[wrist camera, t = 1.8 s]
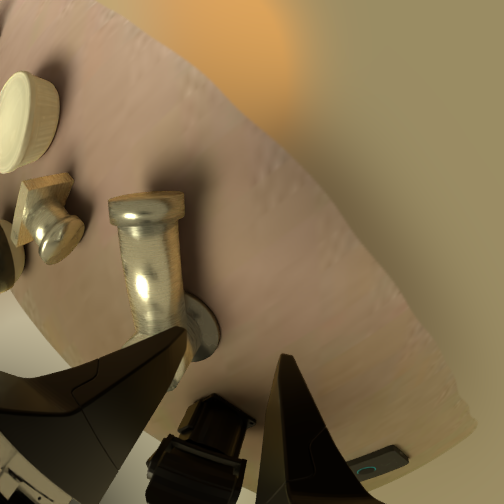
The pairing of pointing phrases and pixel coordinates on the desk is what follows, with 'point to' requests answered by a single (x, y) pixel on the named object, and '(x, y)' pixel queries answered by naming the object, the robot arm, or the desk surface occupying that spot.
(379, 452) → the smart home device
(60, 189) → the metal pipe fitting
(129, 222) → the elbow
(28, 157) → the ramekin
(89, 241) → the desk surface
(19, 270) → the black egg-shaped dome
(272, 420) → the robot arm
